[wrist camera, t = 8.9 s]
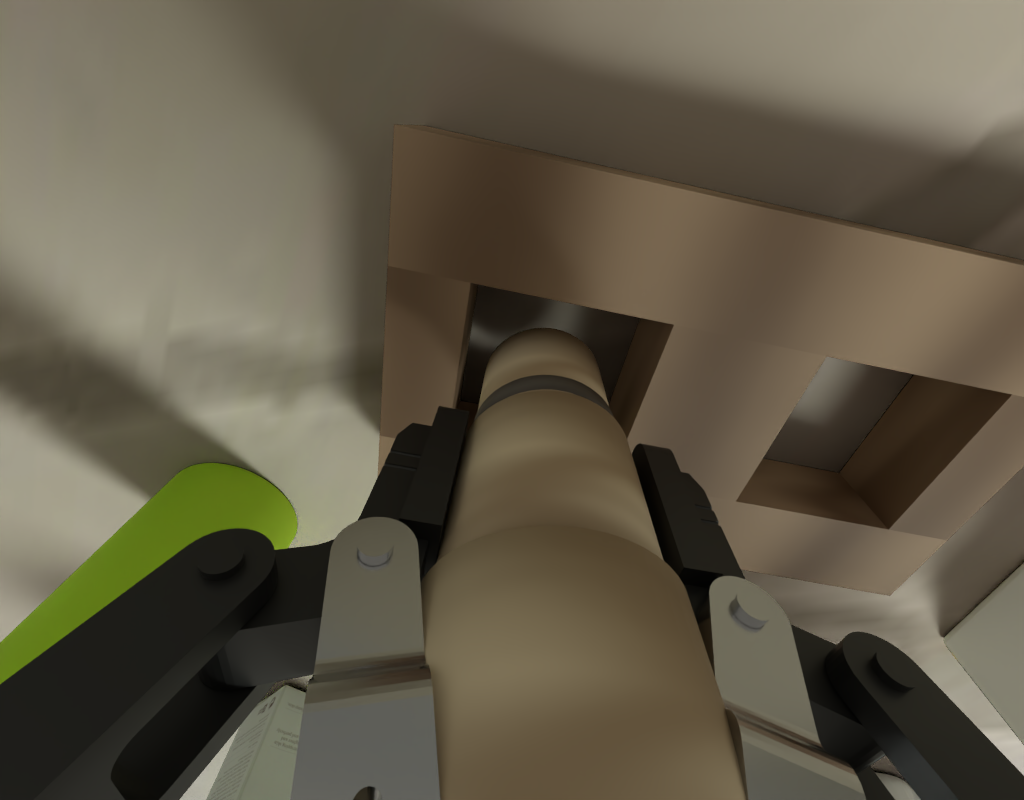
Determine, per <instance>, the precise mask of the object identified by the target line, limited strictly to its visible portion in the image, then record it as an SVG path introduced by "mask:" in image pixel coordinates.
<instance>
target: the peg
mask: <svg viewBox="0 0 1024 800" xmlns="http://www.w3.org/2000/svg"><path fill="white" fill-rule="evenodd" d="M420 585H421V602H422V618H423V635H424V651H425V659H426V663H427V664H429V667H430V672H431V679H432V689H433V703H434V717H435V731H436V746H437V760H438V774H439V789H440V800H746V796H745V791H744V787H743V782H742V778H741V773H740V768H739V764H738V759H737V755H736V751H735V747H734V743H733V739H732V735H731V731H730V728H729V724H728V720H727V716H726V712H725V706H724V703H723V700H722V697H721V694H720V691H719V688H718V685H717V682H716V679H715V676H714V672H713V669H712V666H711V663H710V660H709V657H708V654H707V651H706V648H705V645H704V642H703V639H702V636H701V633H700V630H699V627H698V624H697V621H696V618H695V615H694V612H693V609H692V606H691V603H690V600H689V597H688V594H687V591H686V588H685V586H684V584H683V583H682V581H681V579H680V578H679V576H678V575H677V574H676V573H675V572H674V570H673V569H672V568H671V567H670V566H669V565H668V564H667V563H666V562H664V560H663V557H662V554H661V550H660V547H659V544H658V540H657V537H656V534H655V530H654V527H653V524H652V520H651V517H650V514H649V510H648V507H647V504H646V500H645V497H644V494H643V490H642V487H641V484H640V480H639V477H638V474H637V470H636V467H635V464H634V460H633V457H632V454H631V450H630V447H629V444H628V441H627V438H626V435H625V433H624V431H623V429H622V428H621V426H620V425H619V423H618V422H617V421H616V420H615V418H614V416H613V413H612V411H611V409H610V408H609V404H608V401H607V397H606V393H605V390H604V386H603V382H602V378H601V375H600V371H599V367H598V364H597V361H596V359H595V357H594V355H593V353H592V352H591V351H590V349H589V348H588V347H587V346H586V345H585V344H584V343H583V342H582V341H581V340H579V339H578V338H577V337H575V336H573V335H571V334H569V333H567V332H564V331H561V330H557V329H551V328H535V329H529V330H525V331H522V332H519V333H516V334H514V335H513V336H511V337H509V338H508V339H506V340H505V341H503V342H502V343H501V344H500V345H499V346H498V347H497V348H496V350H495V351H494V352H493V354H492V355H491V357H490V359H489V361H488V364H487V367H486V371H485V376H484V381H483V386H482V391H481V396H480V401H479V407H478V412H477V414H476V416H475V419H474V422H473V424H472V425H471V427H470V428H469V430H468V431H467V434H466V436H465V439H464V443H463V448H462V452H461V456H460V461H459V465H458V469H457V474H456V478H455V482H454V487H453V491H452V496H451V500H450V504H449V509H448V513H447V518H446V522H445V527H444V531H443V535H442V540H441V544H440V549H439V553H438V558H437V562H436V564H435V565H434V566H433V567H431V568H430V570H429V571H428V572H427V574H426V575H425V576H424V578H423V579H422V581H421V583H420Z"/></svg>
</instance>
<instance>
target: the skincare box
mask: <svg viewBox="0 0 1024 800" xmlns="http://www.w3.org/2000/svg"><path fill="white" fill-rule="evenodd" d="M305 696H306V693H305V692H303V691H300V690H298V689H295V688H293V687H290V686H288V685H285V686H283V687H281V688H280V689H279V690H278V691H276V692H275V693H274V694H272V695H271V696H269V697H268V698H266V699H264V700H263V701H261V702H260V703H258V704H257V706H256V707H255V708H254V709H253V710H252V712H251V713H250V714H249V715H248V717H247V718H246V719H245V720H244V721H243V723H242V724H241V725H240V728H239V730H238V732H237V734H236V736H235V738H234V741H233V743H232V745H231V747H230V749H229V751H228V753H227V756H226V758H225V760H224V762H223V764H222V766H221V769H220V771H219V773H218V775H217V778H216V780H215V782H214V784H213V786H212V788H211V791H210V793H209V795H208V797H207V799H206V800H290V798H291V791H292V784H293V777H294V770H295V763H296V756H297V749H298V742H299V735H300V728H301V721H302V714H303V708H304V702H305Z"/></svg>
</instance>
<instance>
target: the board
mask: <svg viewBox="0 0 1024 800" xmlns="http://www.w3.org/2000/svg"><path fill="white" fill-rule="evenodd" d="M478 284H479V285H484V286H488V287H493V288H498V289H503V290H508V291H513V292H517V293H522V294H527V295H532V296H537V297H542V298H547V299H551V300H556V301H561V302H566V303H571V304H576V305H581V306H585V307H590V308H595V309H600V310H605V311H610V312H614V313H619V314H624V315H629V316H634V317H639V318H640V321H639V323H638V326H637V329H636V332H635V334H634V337H633V340H632V343H631V345H630V348H629V351H628V353H627V356H626V359H625V362H624V364H623V367H622V370H621V373H620V375H619V378H618V381H617V384H616V386H615V389H614V392H613V395H612V397H611V400H610V403H609V408H610V409H611V411H612V413H613V416H614V418H615V420H616V421H617V422H618V423H619V425H620V426H621V428H622V429H623V431H624V433H625V435H626V438H627V441H628V444H629V447H630V450H631V454H632V452H633V450H634V448H635V446H636V445H637V444H639V443H641V444H646V445H652V446H657V447H662V448H668V449H671V451H672V452H673V454H674V456H675V459H676V461H677V464H678V466H679V468H680V471H681V472H684V473H689V474H690V475H691V476H692V477H693V478H694V480H695V481H696V482H697V483H698V484H699V485H700V486H701V487H702V488H703V489H704V491H705V493H706V495H707V497H708V500H709V502H710V504H711V506H712V511H714V513H715V515H716V517H717V519H718V521H719V523H718V525H719V526H721V528H722V530H723V532H724V534H725V536H726V539H727V541H728V543H729V545H730V547H731V549H732V551H733V554H734V556H735V558H736V560H737V562H738V564H739V567H740V569H741V570H746V571H752V572H758V573H763V574H769V575H775V576H781V577H786V578H792V579H798V580H803V581H809V582H815V583H820V584H826V585H832V586H837V587H843V588H849V589H854V590H860V591H866V592H871V593H877V594H883V595H889V596H890V595H891V594H892V593H893V592H894V591H895V590H896V589H897V588H899V587H900V586H901V585H902V584H903V583H904V582H905V581H906V580H907V579H908V578H909V577H910V576H911V575H912V574H913V573H914V572H915V571H916V570H917V569H918V568H919V567H920V566H921V565H922V564H923V563H924V562H925V561H926V560H927V559H929V558H930V557H931V556H932V555H933V554H934V553H935V552H936V551H937V550H938V549H939V548H940V547H941V546H942V545H943V544H944V543H945V542H946V541H947V540H948V539H949V538H950V537H951V536H952V535H953V534H954V533H955V532H956V531H957V530H958V529H960V528H961V527H962V526H963V525H964V524H965V523H966V522H967V521H968V520H969V519H970V518H971V517H972V516H973V515H974V514H975V513H976V512H977V511H978V510H979V509H980V508H981V507H982V506H983V505H984V504H985V503H986V502H987V501H988V500H989V499H991V498H992V497H993V496H994V495H995V494H996V493H997V492H998V491H999V490H1000V489H1001V488H1002V487H1003V486H1004V485H1005V484H1006V483H1007V482H1008V481H1009V480H1010V479H1011V478H1012V477H1013V476H1014V475H1015V474H1016V473H1017V472H1018V471H1019V470H1021V469H1022V468H1023V467H1024V260H1019V259H1015V258H1010V257H1006V256H1002V255H997V254H993V253H988V252H984V251H979V250H975V249H970V248H966V247H962V246H957V245H953V244H948V243H944V242H939V241H935V240H930V239H926V238H922V237H917V236H913V235H908V234H904V233H899V232H895V231H890V230H886V229H882V228H877V227H873V226H868V225H864V224H859V223H855V222H850V221H846V220H842V219H837V218H833V217H828V216H824V215H819V214H815V213H810V212H806V211H802V210H797V209H793V208H788V207H784V206H779V205H775V204H770V203H766V202H762V201H757V200H753V199H748V198H744V197H739V196H735V195H730V194H726V193H722V192H717V191H713V190H708V189H704V188H699V187H695V186H690V185H686V184H682V183H677V182H673V181H668V180H664V179H659V178H655V177H650V176H646V175H641V174H637V173H633V172H628V171H624V170H619V169H615V168H610V167H606V166H601V165H597V164H593V163H588V162H584V161H579V160H575V159H570V158H566V157H561V156H557V155H553V154H548V153H544V152H539V151H535V150H530V149H526V148H521V147H517V146H513V145H508V144H504V143H499V142H495V141H490V140H486V139H481V138H477V137H473V136H468V135H464V134H459V133H455V132H450V131H446V130H441V129H437V128H433V127H428V126H424V125H394V139H393V160H392V182H391V204H390V225H389V247H388V268H387V290H386V311H385V333H384V354H383V376H382V397H381V419H380V441H379V462H378V476H379V474H380V472H381V469H382V467H383V466H384V463H385V461H386V458H387V456H388V454H389V453H390V450H391V447H392V445H393V443H394V441H395V439H396V436H397V434H398V433H400V432H401V431H402V430H404V429H405V428H406V427H407V426H409V425H410V424H411V423H418V424H423V425H429V426H432V424H433V421H434V418H435V415H436V413H437V410H438V407H439V406H443V407H448V408H454V409H459V410H465V411H469V419H468V425H467V431H468V430H469V428H470V427H471V425H472V424H473V422H474V419H475V416H476V414H477V412H478V407H479V404H475V403H470V402H465V401H460V398H461V391H462V385H463V379H464V372H465V366H466V359H467V353H468V347H469V340H470V334H471V327H472V321H473V314H474V308H475V302H476V295H477V289H478ZM827 356H828V357H833V358H837V359H842V360H847V361H852V362H857V363H862V364H867V365H871V366H876V367H881V368H886V369H891V370H896V371H900V372H905V373H910V374H914V375H913V377H912V378H911V379H910V381H909V382H908V383H907V385H906V386H905V387H904V388H903V390H902V391H901V392H900V394H899V395H898V396H897V398H896V399H895V400H894V402H893V403H892V404H891V406H890V407H889V408H888V410H887V411H886V412H885V413H884V415H883V416H882V417H881V419H880V420H879V421H878V423H877V424H876V425H875V427H874V428H873V429H872V431H871V432H870V433H869V435H868V436H867V437H866V439H865V440H864V441H863V442H862V444H861V445H860V446H859V448H858V449H857V450H856V452H855V453H854V454H853V456H852V457H851V458H850V460H849V461H848V462H847V464H846V465H845V466H844V467H843V469H842V470H841V471H840V473H836V472H831V471H826V470H821V469H815V468H810V467H805V466H800V465H795V464H789V463H784V462H779V461H774V460H768V459H763V457H764V456H765V454H766V452H767V451H768V449H769V448H770V446H771V444H772V443H773V441H774V440H775V438H776V436H777V435H778V433H779V432H780V430H781V428H782V427H783V425H784V424H785V422H786V420H787V419H788V417H789V416H790V414H791V412H792V411H793V409H794V408H795V406H796V405H797V403H798V401H799V400H800V398H801V397H802V395H803V393H804V392H805V390H806V389H807V387H808V385H809V384H810V382H811V381H812V379H813V377H814V376H815V374H816V373H817V371H818V369H819V368H820V366H821V365H822V363H823V361H824V360H825V358H826V357H827ZM467 431H466V434H467Z"/></svg>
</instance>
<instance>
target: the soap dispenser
mask: <svg viewBox="0 0 1024 800" xmlns="http://www.w3.org/2000/svg"><path fill="white" fill-rule="evenodd" d="M234 528H243V529H250V530H255V531H257V532H260V533H262V534H263V535H265V536H266V537H267V538H268V539H269V540H270V541H271V542H272V544H273V546H274V549H275V550H278V549H287V548H288V547H289V545H290V544H291V542H292V540H293V539H294V537H295V535H296V532H297V517H296V514H295V511H294V509H293V507H292V505H291V504H290V502H289V501H288V500H287V498H286V497H285V496H284V495H283V494H282V493H281V492H280V491H279V490H278V489H277V488H276V487H275V486H273V485H272V484H271V483H269V482H268V481H266V480H265V479H263V478H262V477H260V476H258V475H256V474H254V473H252V472H250V471H247V470H245V469H242V468H239V467H235V466H231V465H226V464H219V463H202V464H197V465H193V466H190V467H187V468H185V469H183V470H182V471H180V472H179V473H178V474H177V475H176V476H175V477H174V478H172V479H171V480H170V481H169V482H168V483H167V484H166V485H165V486H164V487H163V488H162V489H161V490H160V491H159V492H158V493H157V494H156V495H155V496H154V497H153V498H151V499H150V500H149V501H148V502H147V503H146V504H145V505H144V506H143V507H142V508H141V509H140V510H139V511H138V512H137V513H136V514H135V515H134V516H133V517H132V518H131V519H129V520H128V521H127V522H126V523H125V524H124V525H123V526H122V527H121V528H120V529H119V530H118V531H117V532H116V533H115V534H114V535H113V536H112V537H111V538H110V539H109V540H107V541H106V542H105V543H104V544H103V545H102V546H101V547H100V548H99V549H98V550H97V551H96V552H95V553H94V554H93V555H92V556H91V557H90V558H89V559H88V560H87V561H85V562H84V563H83V564H82V565H81V566H80V567H79V568H78V569H77V570H76V571H75V572H74V573H73V574H72V575H71V576H70V577H69V578H68V579H67V580H66V581H64V582H63V583H62V584H61V585H60V586H59V587H58V588H57V589H56V590H55V591H54V592H53V593H52V594H51V595H50V596H49V597H48V598H47V599H46V600H45V601H44V602H42V603H41V604H40V605H39V606H38V607H37V608H36V609H35V610H34V611H33V612H32V613H31V614H30V615H29V616H28V617H27V618H26V619H25V620H24V621H23V622H22V623H20V624H19V625H18V626H17V627H16V628H15V629H14V630H13V631H12V632H11V633H10V634H9V635H8V636H7V637H6V638H5V639H4V640H3V641H2V642H1V643H0V684H1V683H2V682H4V681H5V680H6V679H8V678H9V677H11V676H12V675H13V674H15V673H16V672H17V671H19V670H20V669H21V668H23V667H24V666H25V665H27V664H28V663H29V662H31V661H32V660H33V659H35V658H36V657H38V656H39V655H40V654H42V653H43V652H44V651H46V650H47V649H48V648H50V647H51V646H52V645H54V644H55V643H56V642H58V641H59V640H60V639H62V638H63V637H65V636H66V635H67V634H69V633H70V632H71V631H73V630H74V629H75V628H77V627H78V626H79V625H81V624H82V623H83V622H85V621H86V620H88V619H89V618H90V617H92V616H93V615H94V614H96V613H97V612H98V611H100V610H101V609H102V608H104V607H105V606H106V605H108V604H109V603H110V602H112V601H113V600H115V599H116V598H117V597H119V596H120V595H121V594H123V593H124V592H125V591H127V590H128V589H129V588H131V587H132V586H133V585H135V584H136V583H137V582H139V581H140V580H142V579H143V578H144V577H146V576H147V575H148V574H150V573H151V572H152V571H154V570H155V569H156V568H158V567H159V566H160V565H162V564H163V563H164V562H166V561H167V560H169V559H170V558H171V557H173V556H174V555H175V554H177V553H178V552H179V551H181V550H182V549H183V548H185V547H186V546H188V545H189V544H191V543H192V542H194V541H195V540H197V539H199V538H201V537H203V536H205V535H208V534H210V533H213V532H217V531H220V530H226V529H234Z"/></svg>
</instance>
